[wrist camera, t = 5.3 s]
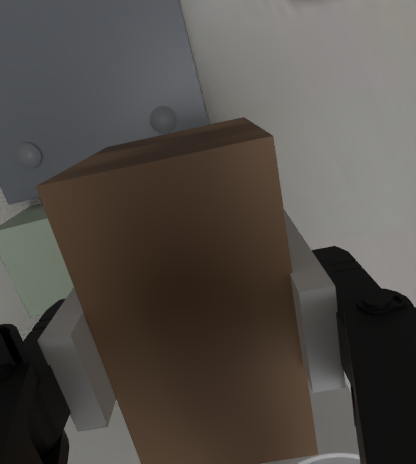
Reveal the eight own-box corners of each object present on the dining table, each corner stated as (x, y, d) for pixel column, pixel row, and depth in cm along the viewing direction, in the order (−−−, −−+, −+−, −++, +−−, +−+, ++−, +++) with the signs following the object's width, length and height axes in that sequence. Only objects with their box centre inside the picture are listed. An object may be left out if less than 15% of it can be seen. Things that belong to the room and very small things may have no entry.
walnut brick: (167, 348, 16) (147, 480, 11) (107, 146, 13) (35, 186, 8) (279, 328, 16) (318, 454, 10) (243, 117, 13) (273, 135, 7)
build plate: (16, 200, 29) (6, 205, 27) (-90, -36, 23) (-109, -45, 22) (215, 149, 28) (215, 152, 26) (151, -114, 22) (147, -128, 21)
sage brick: (61, 277, 31) (30, 317, 26) (30, 206, 29) (-12, 233, 24) (134, 260, 31) (118, 297, 25) (108, 186, 29) (84, 209, 23)
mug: (225, 315, 33) (236, 430, 21) (320, 289, 32) (383, 396, 21) (258, 412, 37) (282, 552, 25) (343, 392, 36) (406, 528, 25)
